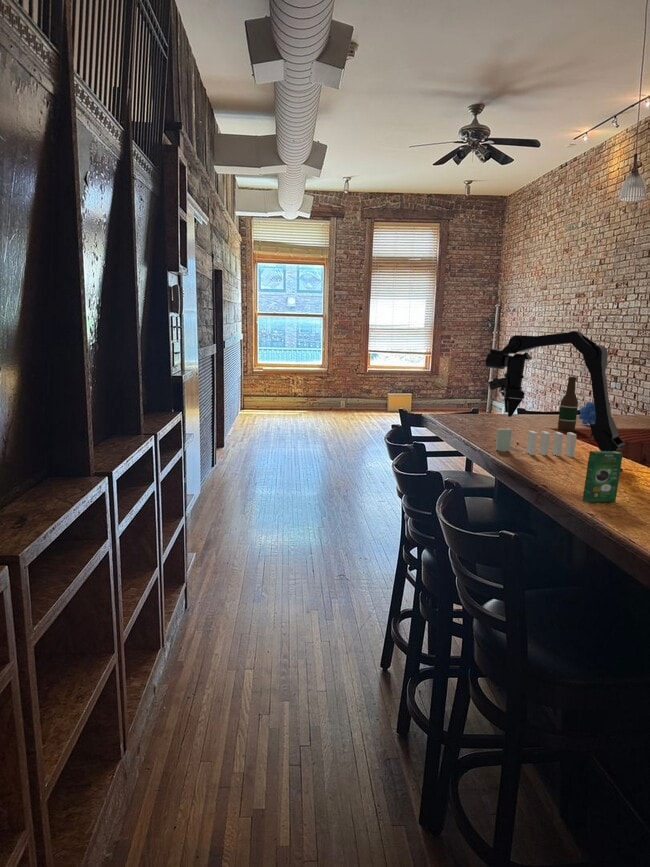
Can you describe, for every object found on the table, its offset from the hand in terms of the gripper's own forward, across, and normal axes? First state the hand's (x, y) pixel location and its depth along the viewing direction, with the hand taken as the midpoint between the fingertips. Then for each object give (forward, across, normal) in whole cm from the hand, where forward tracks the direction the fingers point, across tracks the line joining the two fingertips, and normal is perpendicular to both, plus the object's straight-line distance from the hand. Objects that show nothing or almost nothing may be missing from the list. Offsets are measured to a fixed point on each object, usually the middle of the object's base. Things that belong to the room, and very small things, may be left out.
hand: (508, 414), depth 196 cm
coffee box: (+11, +58, +18) cm, 62 cm away
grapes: (+13, -77, +49) cm, 92 cm away
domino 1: (+13, +2, 0) cm, 13 cm away
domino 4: (+12, +2, +18) cm, 22 cm away
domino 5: (+12, +2, +22) cm, 25 cm away
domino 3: (+12, +3, +14) cm, 19 cm away
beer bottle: (+13, -58, +34) cm, 68 cm away
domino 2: (+13, +4, +9) cm, 16 cm away
